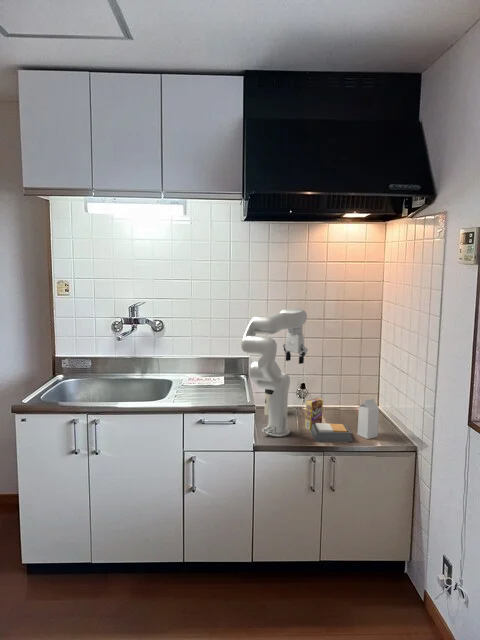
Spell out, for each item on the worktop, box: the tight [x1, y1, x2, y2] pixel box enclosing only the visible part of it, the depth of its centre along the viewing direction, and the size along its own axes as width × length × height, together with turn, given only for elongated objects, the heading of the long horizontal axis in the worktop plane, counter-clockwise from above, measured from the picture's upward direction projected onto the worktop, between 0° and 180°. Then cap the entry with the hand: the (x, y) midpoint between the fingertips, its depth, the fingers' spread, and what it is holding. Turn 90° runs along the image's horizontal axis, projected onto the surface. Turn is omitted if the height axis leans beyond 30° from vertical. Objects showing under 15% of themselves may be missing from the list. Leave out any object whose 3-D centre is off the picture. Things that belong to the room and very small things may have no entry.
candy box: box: [304, 397, 324, 431], centre depth 256 cm, size 9×4×15 cm, turn 128°
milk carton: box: [357, 398, 380, 440], centre depth 245 cm, size 7×7×19 cm
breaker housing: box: [309, 423, 353, 443], centre depth 243 cm, size 19×13×4 cm
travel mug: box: [263, 389, 274, 417], centre depth 276 cm, size 8×8×18 cm
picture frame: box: [316, 422, 347, 432], centre depth 243 cm, size 14×10×2 cm
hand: (294, 362), depth 263 cm, fingers open, 9 cm apart
